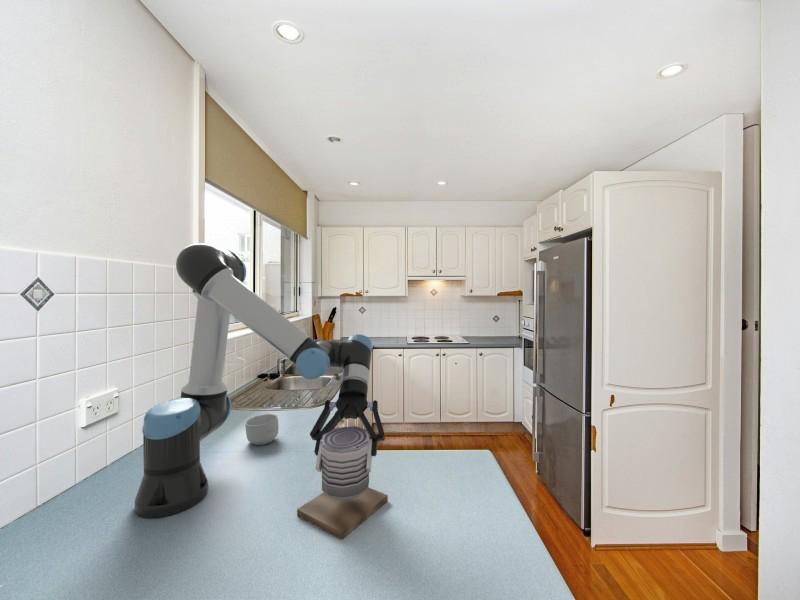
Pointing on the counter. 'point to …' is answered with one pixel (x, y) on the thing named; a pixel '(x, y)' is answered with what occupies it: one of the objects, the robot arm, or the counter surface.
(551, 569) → the counter surface
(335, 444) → the can
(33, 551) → the counter surface
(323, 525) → the walnut board
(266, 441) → the teacup
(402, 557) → the counter surface
